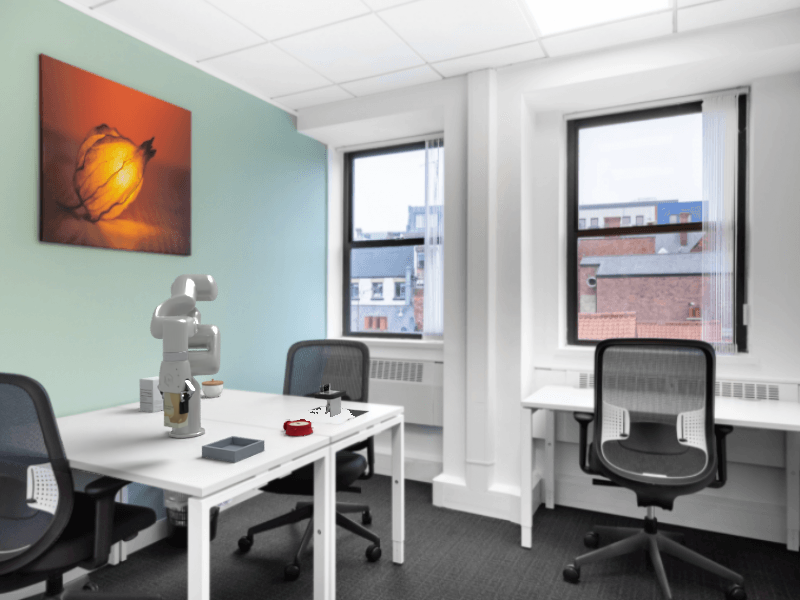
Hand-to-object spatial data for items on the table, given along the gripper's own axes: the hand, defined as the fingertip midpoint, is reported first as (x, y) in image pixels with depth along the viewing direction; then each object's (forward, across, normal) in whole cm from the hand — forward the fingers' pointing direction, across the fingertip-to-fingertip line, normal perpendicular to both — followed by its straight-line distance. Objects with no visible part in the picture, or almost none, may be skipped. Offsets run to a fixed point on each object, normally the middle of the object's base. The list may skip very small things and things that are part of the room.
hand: (176, 411), depth 170 cm
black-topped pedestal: (+17, +11, +73) cm, 76 cm away
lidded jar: (+19, -68, +84) cm, 110 cm away
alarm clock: (+16, +16, +44) cm, 49 cm away
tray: (+15, +14, +11) cm, 23 cm away
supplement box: (+18, -68, +48) cm, 85 cm away
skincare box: (+5, 0, 0) cm, 5 cm away
